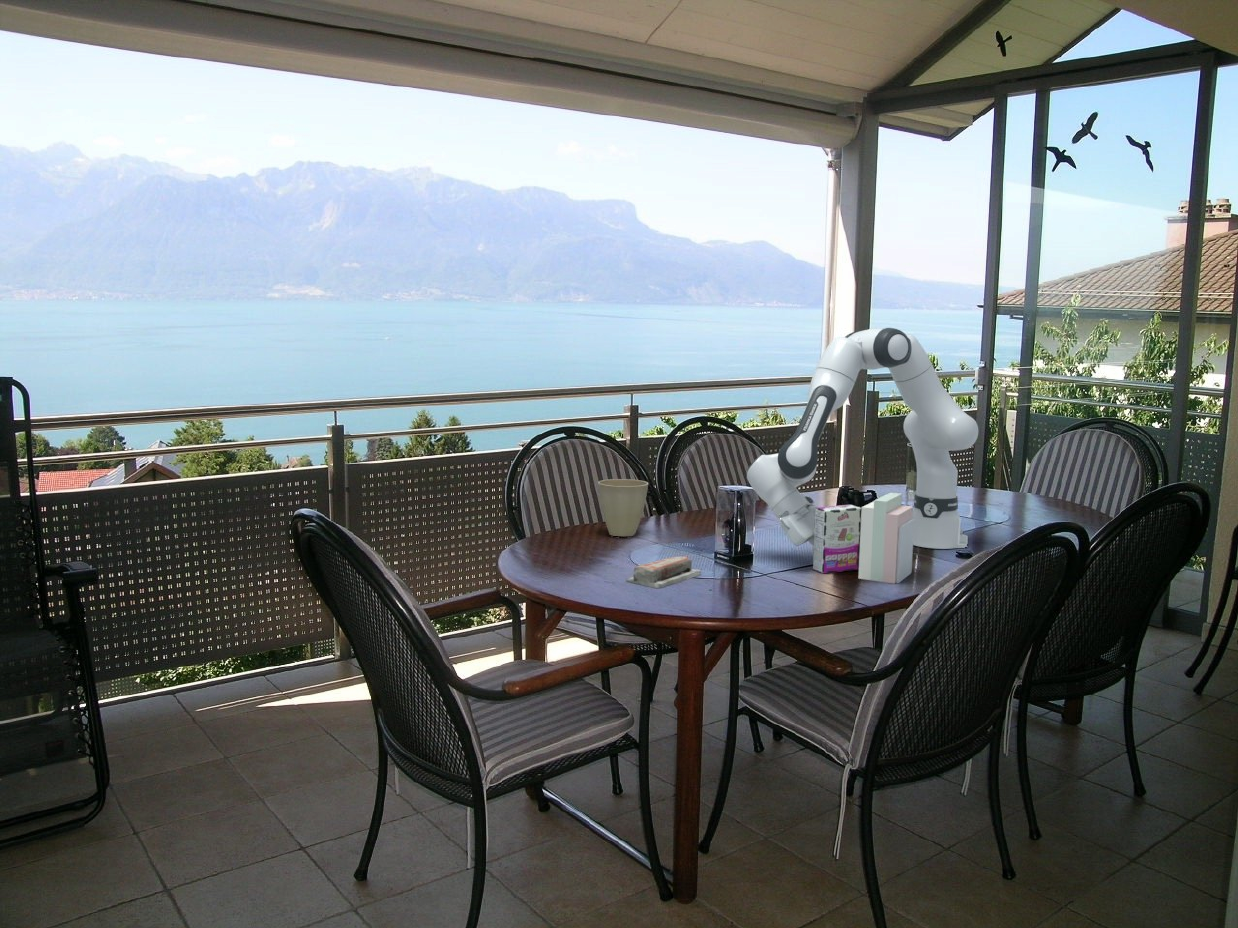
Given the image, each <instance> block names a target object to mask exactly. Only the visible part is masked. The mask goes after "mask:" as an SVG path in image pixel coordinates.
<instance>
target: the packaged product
mask: <svg viewBox="0 0 1238 928" xmlns="http://www.w3.org/2000/svg"><path fill="white" fill-rule="evenodd" d="M692 564H693V560H692V559H691V558H689V557H688V556H686V555H685V556H671V557H667V558H664V559H659V560H656V561H651V562H648V563H643V564H640V565H638V566H634V568H633V570H634V571H633V576H632V577H629V578H626V579H625V580H626V582H627V583H630V584H635V585H639V586H643V587H649V588H653V589H661V588H664V587H668V586H671V585H674V584H677V583H680V582H684V581H687V580H691V579H693V578H696V577H699V576H700V575H702V570H701V569H696V568H695V569H694V568H692V566H693V565H692Z"/></svg>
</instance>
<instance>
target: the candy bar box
mask: <svg viewBox="0 0 1238 928" xmlns="http://www.w3.org/2000/svg"><path fill="white" fill-rule="evenodd" d="M861 511H862V507H860V506H856V505H854V504H842V505H841V504H840V505H833V506H831V505H830V506H821V507H817V508H815V528H814V546H813V557H812V569H813V570H814V571H816V572H819V573H821V574H823V575H824V574H831V573H841V572H850V571H857V570H859V554H860V533H861Z"/></svg>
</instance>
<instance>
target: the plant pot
mask: <svg viewBox="0 0 1238 928" xmlns="http://www.w3.org/2000/svg"><path fill="white" fill-rule="evenodd" d="M597 484H598V492H599V501H600V505H601V509H602V510H601V511H602V513H603V519H604V522H605V524H606V528H607V531H608V534H609V536H610V535H613V536H632V535H634V534H635V535H636V533H637V530H638V528H639V525H640V522H641V519H642V516H643V512H644V509H645V504H646V498H647V493H648V487H649V482H648V481H645V480H639V479H632V478H631V479H630V478H629V479H625V478H621V479H620V478H614V479H613V478H610V479H603V480H599V481H598V482H597ZM635 535H634V536H635ZM613 536H612V537H613Z"/></svg>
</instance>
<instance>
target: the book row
mask: <svg viewBox="0 0 1238 928" xmlns="http://www.w3.org/2000/svg"><path fill="white" fill-rule="evenodd" d="M902 501H903V493H897V492H888V493H887V494H885V495H882V496H880V497H877V498H876V499H875V500H873V501H872V502H869V503H868V504H865V505H864V506H861V520H860V540H859V561H858V576H857V577H858V579H859V580H860V579H861V580H864V581H865V580H866V581H873V582H880V583H887V584H893V585H895V584H900V582H902V581H904V580H905V579H906V578H907V577H908V576H910V575H911V574H912V571H913V570H912V567H913V552H914V551H913V550H914V545H913V535H914V519H913V509H914V505H913V506H912V505H902V504H903V503H902Z"/></svg>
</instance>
